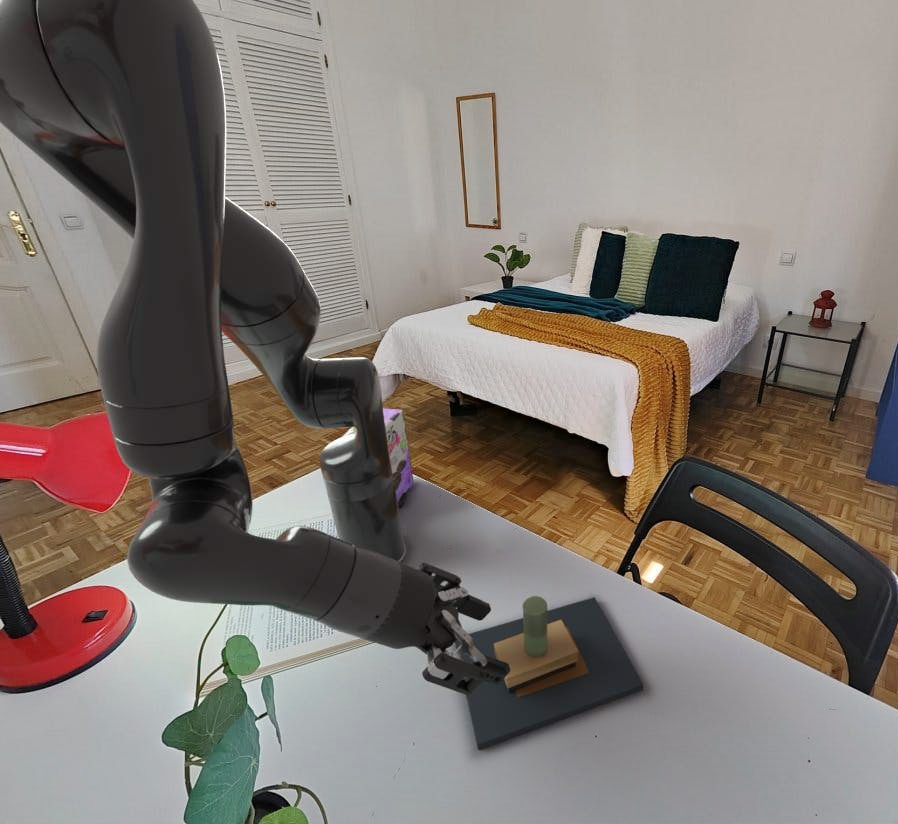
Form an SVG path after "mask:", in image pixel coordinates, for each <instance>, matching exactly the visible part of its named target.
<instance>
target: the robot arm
mask: <svg viewBox="0 0 898 824" xmlns="http://www.w3.org/2000/svg"><path fill="white" fill-rule="evenodd" d="M221 68H222V67H221V63H220V59H219V54H218V51H217V48H216V44H215V42H214V39H213V35H212V33H211V30H210V29H209V26H208V24H207V22H206V19H205V18H204V15H203V14H202V12H201V11H200V9H199V7H198V5H197V4H196V2H195V1H194V0H0V124H1V125H2V126H3V127H4V128H5V129H7V130H8V132H10V133H11V134H12V135H13V136H15V138H16V139H17V140H19V141H20V142H21V143H22V144H24V145H25V146H26V147H27V148H28V149H30V150H31V152H33V153H34V154H35V155H36V156H38V157H39V158H40V159H41V160H42V161H44V163H46V164H47V165H48V166H49V167H51V169H53V170H54V171H55V172H56V173H58V174H59V175H60V176H61V177H62V178H63V179H65V180H66V181H67V182H68V183H70V184H71V185H72V186H73V187H74V188H76V189H77V190H78V191H79V192H80V193H81V194H82V195H84V196H85V197H86V198H87V199H88V200H90V201H91V202H92V203H93V204H94V205H95V206H97V207H98V208H99V209H100V210H101V211H102V212H103V213H105V214H106V215H107V216H108V217H109V218H110V219H111V220H112V221H113V222H115V223H116V225H118V226H119V228H121V229H122V230H123V231H124V232H125V233H127V235H128V236H129V237H130V238H131V239H132V240H133V241H132V244H131V248H130V253H129V257H128V260H127V263H126V266H125V268H124V270H123V274H122V276H121V279H120V281H119V283H118V286H117V288H116V290H115V292H114V294H113V296H112V299H111V300H110V303H109V305H108V308H107V310H106V313H105V314H104V315H105V316H104V317H103V320H102V323H101V327H100V330H99V335H98V339H97V347H96V348H97V349H96V371H97V376H98V382H99V387H100V391H101V395H102V399H103V403H104V408H105V411H106V416H107V419H108V423H109V426H110V431H111V433H112V438H113V441H114V445H115V448H116V450H117V453H118V455H119V457H120V459H121V462H122V463H123V464H124V465H125V467H126V468H128V469H129V470H130V471H132V473H134V474H136V475H138V476H140V477H144V478H147V481H148V483H149V487H150V493H151V505H150V507H149V509H148V511H147V513H146V514H145V516H144V517H143V520H142V522H141V523H140V525H139V526H138V528H137V530H136V532H135V533H134V535H133V538H132V539H131V541H130V543H129V546H128V550H127V555H126V560H127V561H126V562H127V565H128V569H129V571H130V573H131V574H132V576H133V577H134V579H135V580H136V581H138V583H139V584H141V585H142V586H143V587H145V588H146V589H148V590H149V591H151V592H152V593H155V594H156V595H159V596H161V597H164V598H166V599H169V600H173V601H178V602H183V603H184V602H185V603H192V604H209V605H210V604H211V605H212V604H213V605H214V604H215V605H234V606H266V607H267V606H268V607H274V608H276V609H279V610H281V611H285V612H287V613H291V614H294V615H296V616H299V617H303V618H306V619H310V620H313V621H315V622H318V623H320V624H321V625H324V626H326V627H328V628H330V629H332V630H335V631H337V632H340V633H343V634H347V635H350V636H352V637H355V638H358V639H362V640H365V641H368V642H371V643H375V644H378V645H381V646H384V647H388V648H391V649H394V650H401V649H407V648H412V647H413V648H417V649H418V650H420V651H421V652H422V653H424V654H425V655H426V656H427V657H426V658H427V666H426V668H424V669H423V671H422V677H423V679H424V680H425V681H426V682H429V683H431V684H434V685H436V686H437V685H438V686H440V687H443V688H446V689H449V690H452V691H454V692H457V693H459V694H462V695H465V696H466V695H470V694H471V693H472V692H473V691H474V690H475V689H476V688H477V687H478V686H479V685H480V684H481V683H482V682H483V681H486V682H489V683H492V684H495V685H496V684H499V683H500V682H501V681H502V680H503V679H504V678H505V677H506V676H507V674H508V673H509V672H510V667H509V664H508V663H506V662H503V661H500V660H497V659H495V658H492V657H489V656H486V655H485V656H484V655H483V654H482V653H480V652H479V651H478V650H477V649H476V648H475V647H474V646H473V638H472V637H471V636H470V635H469V634H470V633H468V632H467V631H466V630H465V629H464V628H463V626H462V623H461V621H460V619H459V617H460V615H459V614H461V615H464V616H466V617H469V618H470V619H473V620H476V621H479V622H480V621H483V620H484V619H485V618H486V617H487V616H488V615H489V614H490V612H491V611H492V608H491V605H490V603H488V602H486V601H485V600H482V599H481V598H477V597H475V596H473V595H471V594H469V592H468V590H467V589H466V588H464V587H461V583H462V578H461V577H460V576H458V575H457V574H454V573H452V572H449V571H446V570H444V569H441V568H439V567H436V566H434V565H431V564H429V563H427V562H422V563H420V565H419V566H418V567H417V568H416V567H415V568H414V567H413V566H410V565H408V564H406V563H404V562H403V561H404V559H405V558H406V554H407V546H406V542H405V538H404V532H403V525H402V520H401V514H400V509H399V508H400V507H402V506H403V505H404V504H405V501H406V499H407V496H408V492H407V493H405V492H404V493H403V494H402V496H401V499H400V501H399V502H397V496H396V490H395V485H394V479H393V474H392V468H391V462H390V457H389V451H388V443H387V434H386V428H385V421H384V413H383V408H384V404H383V395H382V387H381V380H380V375H379V372H378V369H377V367H376V365H375V364H374V362H373V361H372V360H370V359H369V358H368V357H341V358H340V357H337V358H336V357H335V358H312V357H310V356H308V355H307V354H306V353H307V352H308V350H309V348H310V347H311V345H312V343H313V341H314V338H315V337H316V335H317V334H318V333H317V332H318V330H319V327H320V322H321V317H322V316H321V313H322V312H321V311H322V309H321V302H320V299H319V296H318V293H317V292H316V290H315V288H314V286H313V284H312V283H311V280H310V279H309V277H308V276H307V274H306V272H305V270H304V269H303V267H302V265H301V263H300V261H299V260H298V258H297V257H296V255H295V254H294V252H293V251H292V249H291V248H290V247H289V246H288V245H287V244H286V242H285V241H283V240H282V239H281V238H280V237H279V236H278V234H276V233H275V232H273V231H272V230H271V229H269V227H267V226H266V225H265V224H264V223H263V222H261V221H260V220H258V219H257V218H256V217H254V216H253V215H251V214H250V213H249V212H247V211H246V210H244V209H243V208H242V207H240V206H239V205H237V204H236V203H235V202H233V201H232V200H230V199H229V198H228V197H226V166H227V165H226V163H227V161H226V160H227V158H226V156H227V115H226V113H227V112H226V111H227V110H226V99H225V98H226V97H225V87H224V81H223V72H222V69H221ZM223 334H224V336H225V337H227V338H228V339H229V341H231V342H232V343H233V344H234V345H235V346H236V347H237V348H238V349H239V350H240V351H241V352H242V353H243V354H244V355H245V356H246V357H247V358H248V359H249V361H250V362H251V364H253V365H254V366H255V367H256V368H257V370H258V371H259V372H260V373H261V374H262V376H263V377H264V378H265V379H266V380H267V381H268V383H269V384H270V386H271V387H272V389H273V390H274V391H275V393H276V394H277V396H278V397H279V399H280V400H281V401H282V403H283V404H284V406H285V407H286V409H287V410H288V411H289V413H290V414H291V415H292V417H293V418H294V419H295V420H296V421H297V422H298V423H299V424H301V425H302V426H304V427H306V428H309V429H317V430H322V429H323V430H325V429H345V428H347V429H348V428H352V427H355V428H356V431H354V432H352V433H350V434H348V435H345V436H343V437H341V436H340V437H341V438H340V437H339V438H336V439H335V440H333V441H331V442H330V443H328V444H327V445H326V446H325V447H323V449H322V450H321V451H320V454H319V459H318V462H319V467H320V471H321V475H322V479H323V482H324V488H325V489H326V490H325V491H326V495H327V498H328V502H329V506H330V510H331V514H332V518H333V522H334V527H335V530H336V534H337V537H335V536H333V535H330V534H328V533H327V532H324V531H321V530H318V529H316V528H313V527H310V526H306V525H295V526H291V527H289V528H287V529H285V530H284V531H283V532H282V533H280V534H279V535H278V536H277V537H276V538H275V539H273V538H267V537H262V536H257V535H255V534H252V533H250V532H249V530H250V525H251V521H252V518H253V508H254V507H253V506H254V502H253V501H254V500H253V492H252V484H251V481H250V478H249V473H248V470H247V467H246V464H245V461H244V459H243V455H242V452H241V449H240V448H239V445H238V443H237V441H236V437H235V421H234V420H235V419H234V412H233V407H232V398H231V393H230V386H229V379H228V373H227V367H226V361H225V350H224V340H223ZM443 582H447V583H446V584H445V585H443ZM457 639H458V640H459V641H460V642H461V646H460V647H459V648H458V649H457V650H456V649H455V651H454V652H450V651H448V649H449V648H450V647H452V646H453V645H455V642H456V640H457ZM464 654H467V655H468V656H469V657H470V658H471V659H472V660H473V661H472V662H471V664H470V663H467V662H465V661H463V660H462V659H461V657H462V656H463V655H464ZM464 677H465V680H463V678H464Z"/></svg>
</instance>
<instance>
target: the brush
mask: <svg viewBox="0 0 898 824" xmlns="http://www.w3.org/2000/svg"><path fill="white" fill-rule="evenodd" d="M547 611H548V603H547V601H546V600H545V598H543V597H542V596H537V595H533V596H530V597H527V598H526V599H525V600H524V601H523V603H522V618H523V629H524V633H522V634H519V635H517V636H514V637H511V638H508V639H506V640H503V641H500V642H497V643H494V653H495V656H496V659H497V660H500V661H503V662H506V663H508V664H509V667H510V672H509V673H508V674H507V676H506V677H505V678H504V681H505V684H506V686H507V689H508V692H509V693H511V692H513V691H516V690H518V689H521V688H523V687H526V686H528V685H531V684H533V683H536V682H538V681H541V680H543V679H546V678H548V677H551V676H553V675H556V674H558V673H561V672H563V671H566V670H568V669H571V668H573V667H575V666H576V661H578V649H577V648H576V646H575V644H574V642H573V640H572V638H571V637H570V635H569V633H568V631H567V629H566V627H565V626H564V624H563V622H562V620H558V621H556V622H553V623H550V624H547Z"/></svg>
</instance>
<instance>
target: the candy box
mask: <svg viewBox="0 0 898 824" xmlns="http://www.w3.org/2000/svg"><path fill="white" fill-rule="evenodd" d="M383 413H384V421H385V428H386V434H387V443H388V451H389V457H390V462H391V468H392V474H393V479H394V485H395V490H396V496H397V502H399V501H400V499H401V496H402V494H403V493H404V492H405V493H407V494H408V492H409V491H410V489H411V488H412V487H413V485H414V484H415V481H414V474H413V468H412V461H411V455H410V449H409V442H408V435H407V429H406V423H405V415H404V410H403V409H398V408H397V409H396V408H395V409H394V408H386V407H383ZM354 431H356V428H355V427H350V428H348V430H347V431H346V432H345V433H343V434H342V435H341V436H340V437H339V438H341V437H343V436H345V435H348V434H350V433H352V432H354Z"/></svg>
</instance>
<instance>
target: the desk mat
mask: <svg viewBox="0 0 898 824" xmlns="http://www.w3.org/2000/svg"><path fill="white" fill-rule="evenodd" d="M558 620H562V622H563V624H564V626H565V627H566V629H567V631H568V633H569V635H570V637H571V638H572V640H573V642H574V644H575V646H576V648H577V649H578V661H576V666H575V667H573V668H571V669H568V670H566V671H563V672H561V673H558V674H556V675H553V676H551V677H548V678H546V679H543V680H541V681H538V682H536V683H533V684H531V685H528V686H526V687H523V688H521V689H518V690H516V691H513V692H511V693H509V692H508V689H507V686H506V684H505V681H504V679H503V680H502V681H501V682H500V683H499V684H496V685H495V684H492V683H489V682H486V681H483V682H482V683H481V684H480V685H479V686H478V687H477V688H476V689H475V690H474V691H473V692H472V693H471V694H470V695H465V696H466V702H467V707H468V710H469V715H470V721H471V726H472V729H473V734H474V738H475V742H476V748H477V750H482V749H485V748H487V747H490V746H492V745H495V744H499V743H501V742H504V741H506V740H509V739H512V738H514V737H517V736H520V735H523V734H525V733H526V734H527V733H528V732H531V731H534V730H536V729H539V728H541V727H544V726H547V725H550V724H553V723H556V722H558V721H561V720H564V719H566V718H569V717H572V716H575V715H577V714H581V713H583V712H585V711H588V710H591V709H593V708H596V707H599V706H602V705H605V704H607V703H611V702H612V701H616V700H618V699H621V698H623V697H627V696H629V695H632V694H634V693H637V692H640V691H643V690H644V685H645V684H644V683H643V681H642V679H641V677H640V675H639V674H638V672H637V670H636V668H635V667H634V665H633V663H632V661H631V660H630V659H631V658H630V657H629V656H628V654H627V652H626V650H625V649H624V647H623V645H622V643H621V641H620V639H619V638H618V636H617V634H616V632H615V631H614V629H613V627H612V625H611V624H610V622H609V619H608V618H607V616H606V615H605V613H604V611H603V610H602V607H601V606H600V604H599V602H598V600H597V598H596V597H594V596H593V597H589V598H587V599H583V600H580V601H577V602H573V603H569V604H566V605H563V606H559V607H556V608H553V609H549V610H547V624H550V623H553V622H556V621H558ZM522 633H524V629H523V617H522V618H518V619H515V620H511V621H508V622H505V623H502V624H498V625H494V626H490V627H487V628H484V629H481V630H478V631H473V632H471V633H468V634H469V635H470V636H471V637H472V638H473V646H474V647H475V648H476V649H477V650H478V651H479V652H480V653H482V654H483V655H484V656H485V655H486V656H489V657H492V658H495V659H496V656H495V653H494V643H497V642H500V641H503V640H506V639H508V638H511V637H514V636H517V635H519V634H522ZM454 646H455V651H456V650H457V649H458V648H459V647H460V646H461V642H460V641H459V640H458V639H457V640H456V642H455V643H454ZM461 659H462V660H463V661H465V662H467V663H470V664H471V662H472V661H473V660H472V659H471V658H470V657H469V656H468V655H467V654H464V655H463V656H462V657H461ZM463 680H465V677H464V678H463Z"/></svg>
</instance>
